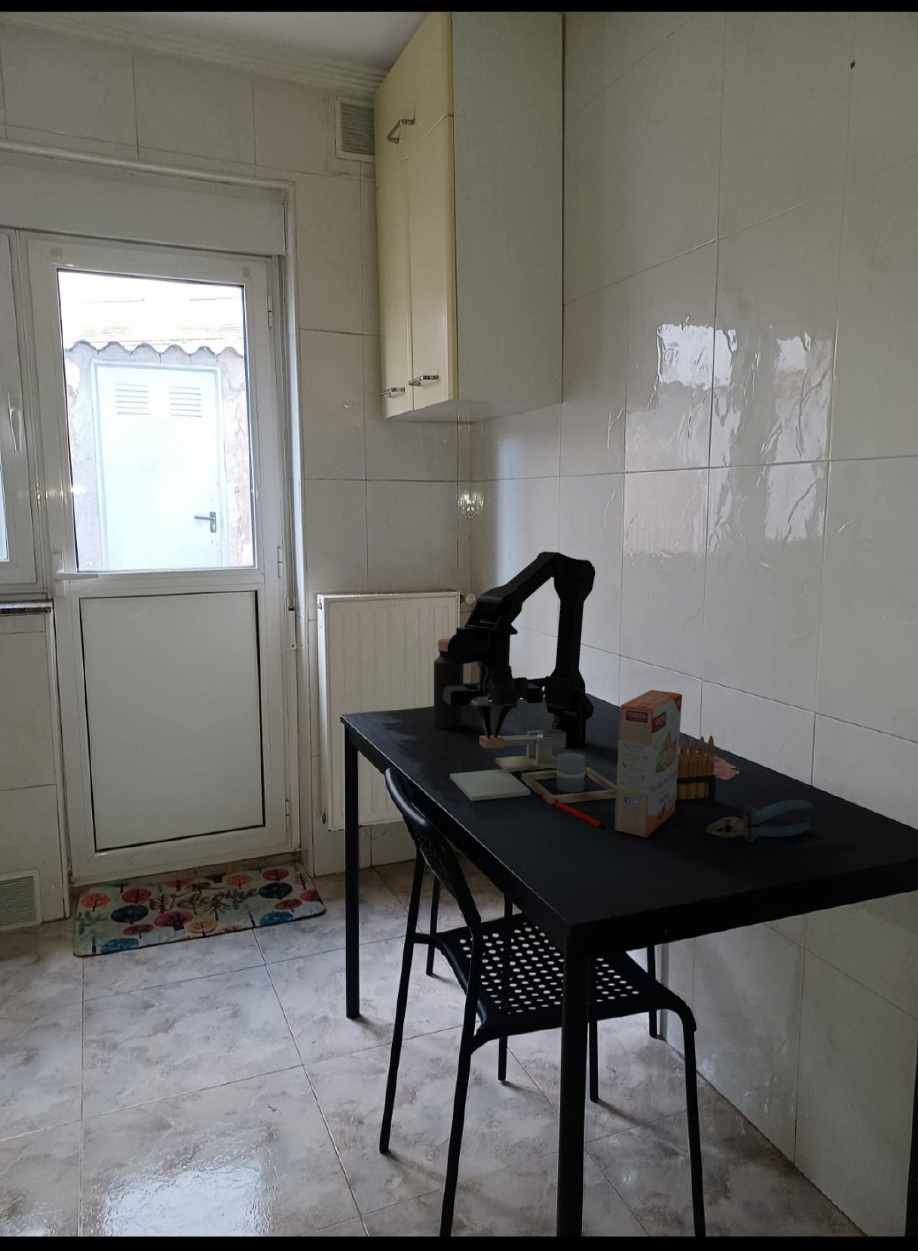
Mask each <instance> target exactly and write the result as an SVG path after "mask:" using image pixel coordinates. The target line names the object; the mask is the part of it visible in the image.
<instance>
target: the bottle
mask: <svg viewBox="0 0 918 1251" xmlns="http://www.w3.org/2000/svg"><path fill="white" fill-rule="evenodd" d="M450 639H451V638H439V639H438V640H437V650H438V653H439V655H438V656H437V657H436V659H434V662H433V725H434V726H435V727H437V728H439V729H444V728H445V729H449V730H450V729H451V730H452V728H453V729H458V728H461V727H462V726H463V725H464V706H450V705H449V704H448V703H447V702H445V701H444V700H443V691H444V689H445V688H446V687H447V686H464V671H465V670H464V665H465V664H461V665H458V664H456V663H454V662H453V661H452V660H451V659H450V657H449V654H448V644H449V641H450Z"/></svg>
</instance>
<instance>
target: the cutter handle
mask: <svg viewBox="0 0 918 1251" xmlns="http://www.w3.org/2000/svg"><path fill="white" fill-rule="evenodd" d="M536 731H537V735H527V734H525V735H524V734H521V735H519V734H518V735H500V734H498V736H497V738H494V737H493V734H492V735H491V734H490V738H487V737H486V735H479V743H478V744H479V745H480V746H481V747H483V748H484V749H501V748H506V747H517V746H519V747H521V746H527V745H536V738H542V737H552V738H553V746H552V750H553V749H566V747H565V746H566V733H565V732H564V731H562V730H560V729H557V730H552V729H540V730H538V729H537V730H536Z"/></svg>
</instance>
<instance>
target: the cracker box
mask: <svg viewBox="0 0 918 1251" xmlns="http://www.w3.org/2000/svg"><path fill="white" fill-rule="evenodd" d="M682 704H683V694H682V693H679V692H675V691H674V692H672V691H664V690H657V689H656V690H655V689H650V690H648V691H646V692H644V693H641V695H638V696H636V697H634V698H633V699H630V700H628V701H626V702H624V703H623V704H621V705H620V710H619V711H620V712H619V732H618V750H617V751H618V752H617V773H616V786H617V790H616V798H615V811H614V813H615V814H614V831H616V832H619V833H623V834H628V835H633V836H636V837H640V836H641V838H646V839H647V838H648V837H649V836H651V834H652V833H654V832H655V830H657V829H658V828H659V827H660V826H661V825H662V824H663V823H665V822H666V821H667V820H668V819H669V818H670V817H671V816H672V815H673V814H674V813H676V807H675V801H676V785H677V769H678V760H679V759H678V753H679V747H680V736H681V734H680V733H681V721H682V720H681V717H682Z"/></svg>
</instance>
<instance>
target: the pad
mask: <svg viewBox="0 0 918 1251" xmlns="http://www.w3.org/2000/svg"><path fill="white" fill-rule="evenodd" d="M449 775H450V776H449V778H450V779H451V780H452V781H453V783H454V784H455V785H456V786H457V785H458V786H457V787H458V788H459V789H460V790H461V791H462V792H463V793H464V794H465V795H466V797H468V799H469V800H470V801H471V802H475V801H483V800H494V799H504V798H514V797H515V798H516V797H522V796H523V797H524V796H525V795H526V796H530V795H531V790H530V789H529V787H526V785H524V784H523V783H522V782H521V781H520V780H519V779H517V777H515V776H514V775H513V774H512V773H511V772H510V773H509V772H508V771H507V770H506V769H503V768H500V769H489V770H480V771H479V770H478V771H470V772H469V771H467V772H457V773H456V772H455V773H450V774H449ZM526 796H525V797H526Z"/></svg>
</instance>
